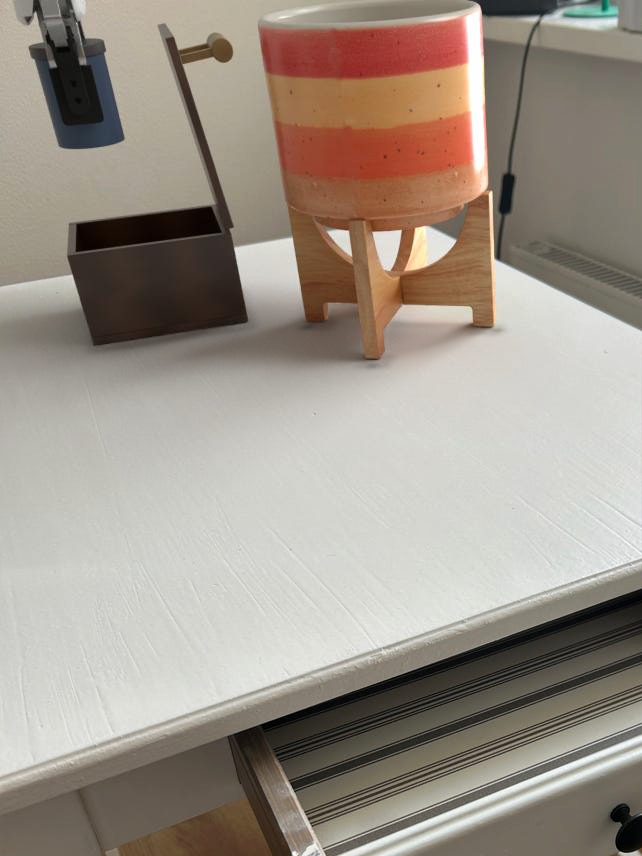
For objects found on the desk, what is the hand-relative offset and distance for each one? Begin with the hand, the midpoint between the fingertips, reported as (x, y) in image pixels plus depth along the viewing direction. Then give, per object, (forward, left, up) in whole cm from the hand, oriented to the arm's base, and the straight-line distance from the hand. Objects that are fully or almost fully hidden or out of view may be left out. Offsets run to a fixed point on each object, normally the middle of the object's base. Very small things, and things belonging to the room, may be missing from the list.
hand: (84, 114), depth 81 cm
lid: (+5, +15, -4) cm, 16 cm away
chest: (-1, +13, -21) cm, 25 cm away
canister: (0, 0, -2) cm, 2 cm away
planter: (+24, +6, -21) cm, 33 cm away
